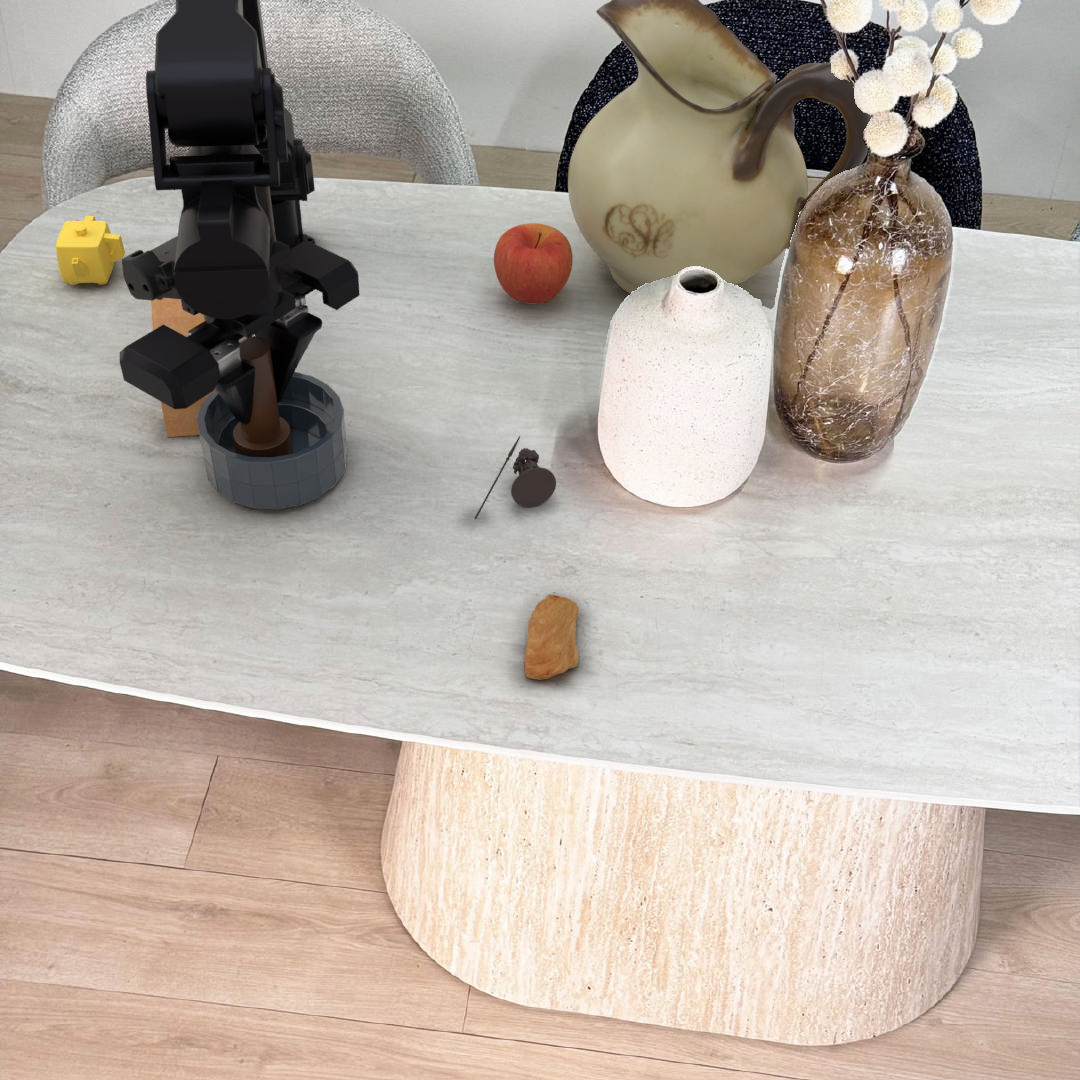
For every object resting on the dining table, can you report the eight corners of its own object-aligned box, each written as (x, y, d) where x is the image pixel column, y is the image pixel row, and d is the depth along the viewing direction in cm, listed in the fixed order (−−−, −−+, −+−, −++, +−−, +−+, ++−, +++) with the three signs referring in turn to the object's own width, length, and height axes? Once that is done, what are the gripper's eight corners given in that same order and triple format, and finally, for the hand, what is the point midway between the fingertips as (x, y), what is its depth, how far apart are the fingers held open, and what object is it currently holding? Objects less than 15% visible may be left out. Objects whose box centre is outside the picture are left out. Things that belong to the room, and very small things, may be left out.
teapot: (120, 299, 118) (109, 251, 114) (57, 299, 118) (44, 251, 114) (135, 252, 124) (125, 205, 120) (75, 252, 123) (63, 205, 120)
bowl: (276, 405, 108) (269, 353, 104) (375, 459, 104) (372, 407, 100) (178, 474, 102) (166, 421, 98) (279, 535, 97) (271, 482, 93)
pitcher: (542, 216, 131) (558, -29, 113) (759, 206, 135) (809, -32, 117) (584, 348, 116) (611, 90, 98) (828, 333, 120) (896, 82, 102)
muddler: (265, 434, 103) (249, 323, 95) (305, 457, 101) (292, 345, 94) (226, 462, 101) (206, 350, 93) (266, 486, 99) (249, 373, 91)
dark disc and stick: (519, 435, 96) (502, 407, 99) (473, 518, 99) (458, 489, 102) (577, 451, 99) (559, 423, 102) (531, 531, 102) (515, 502, 105)
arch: (237, 295, 119) (223, 200, 112) (236, 432, 106) (220, 334, 98) (174, 299, 119) (155, 203, 111) (164, 437, 105) (143, 338, 98)
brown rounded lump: (494, 666, 89) (556, 701, 88) (498, 649, 88) (560, 684, 87) (546, 594, 94) (605, 626, 93) (550, 576, 92) (611, 609, 91)
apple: (549, 270, 124) (553, 197, 119) (582, 310, 120) (588, 236, 114) (480, 285, 122) (481, 212, 116) (512, 327, 117) (515, 252, 112)
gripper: (247, 145, 95) (269, 318, 106) (43, 249, 84) (92, 429, 95) (358, 194, 91) (369, 369, 102) (159, 310, 80) (196, 492, 91)
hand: (258, 411), depth 98 cm, fingers closed on muddler, 3 cm apart
